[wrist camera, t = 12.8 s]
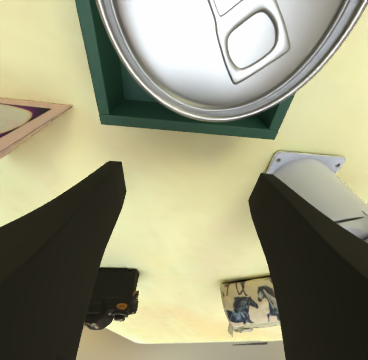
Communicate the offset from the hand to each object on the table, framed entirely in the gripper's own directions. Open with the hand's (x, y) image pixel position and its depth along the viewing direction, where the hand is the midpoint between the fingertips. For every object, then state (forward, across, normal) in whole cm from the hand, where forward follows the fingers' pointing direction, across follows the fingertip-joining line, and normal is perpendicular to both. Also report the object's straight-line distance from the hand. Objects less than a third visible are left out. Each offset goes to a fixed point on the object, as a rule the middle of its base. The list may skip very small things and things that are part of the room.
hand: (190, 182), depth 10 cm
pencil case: (+11, -22, +36) cm, 44 cm away
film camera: (+11, +14, +39) cm, 43 cm away
